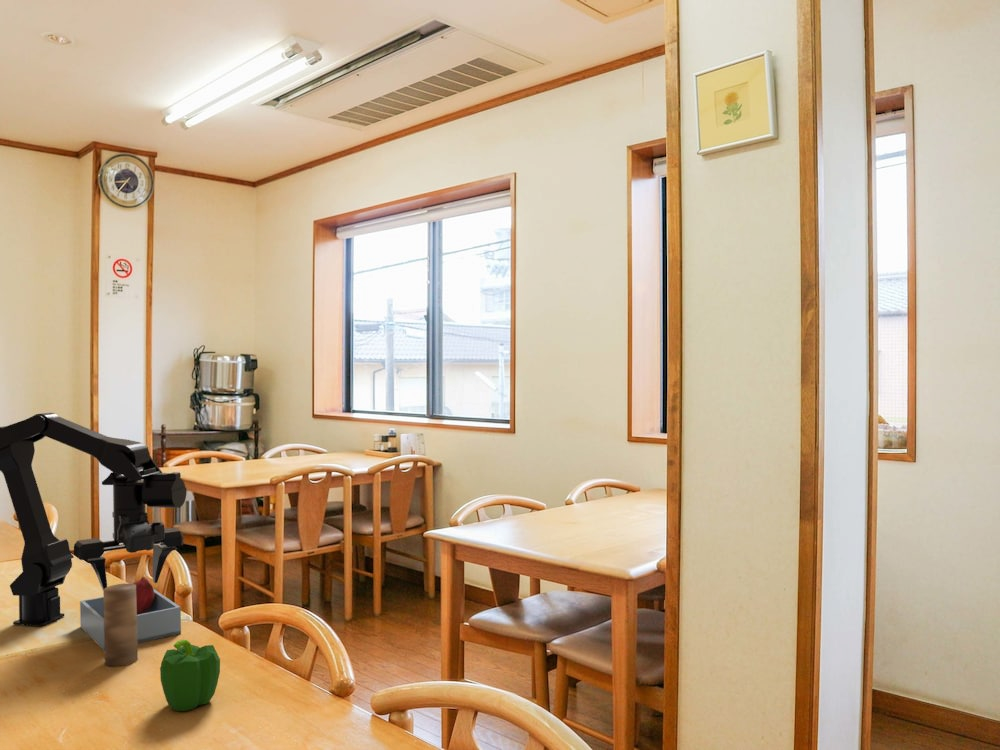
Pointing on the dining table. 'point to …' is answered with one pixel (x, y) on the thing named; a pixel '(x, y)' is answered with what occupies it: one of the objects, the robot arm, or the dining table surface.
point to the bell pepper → (189, 675)
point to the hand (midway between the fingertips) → (130, 587)
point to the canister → (120, 625)
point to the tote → (150, 623)
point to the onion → (144, 595)
